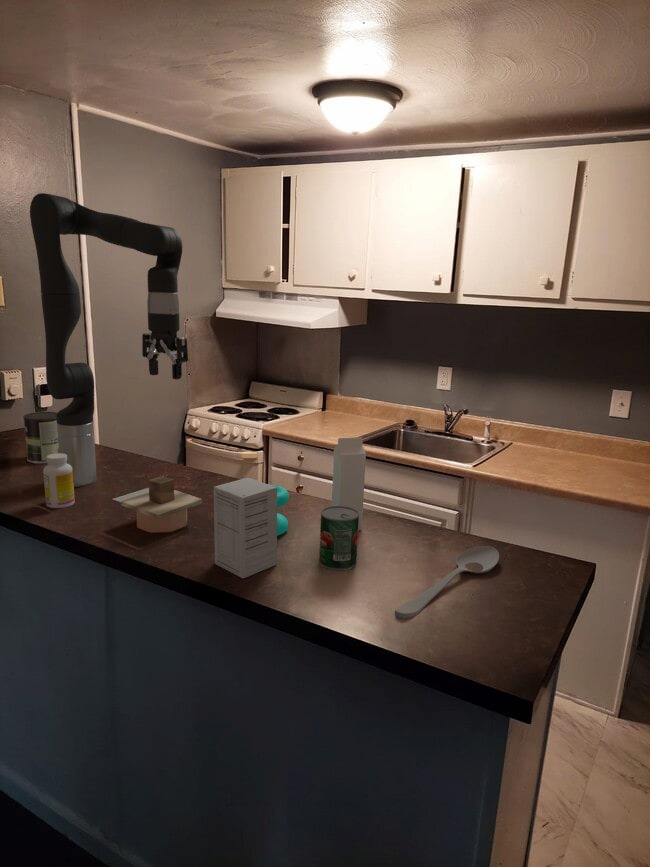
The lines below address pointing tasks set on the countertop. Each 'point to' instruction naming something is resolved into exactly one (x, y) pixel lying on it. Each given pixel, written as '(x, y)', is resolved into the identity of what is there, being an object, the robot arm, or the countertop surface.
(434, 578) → the countertop surface
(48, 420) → the coffee can
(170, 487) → the lid
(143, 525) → the bowl
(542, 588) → the countertop surface
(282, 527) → the donuts
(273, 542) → the supplement box
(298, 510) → the countertop surface
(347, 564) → the canned tomato
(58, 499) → the supplement bottle
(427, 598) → the spoon
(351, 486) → the milk
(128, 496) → the mat
